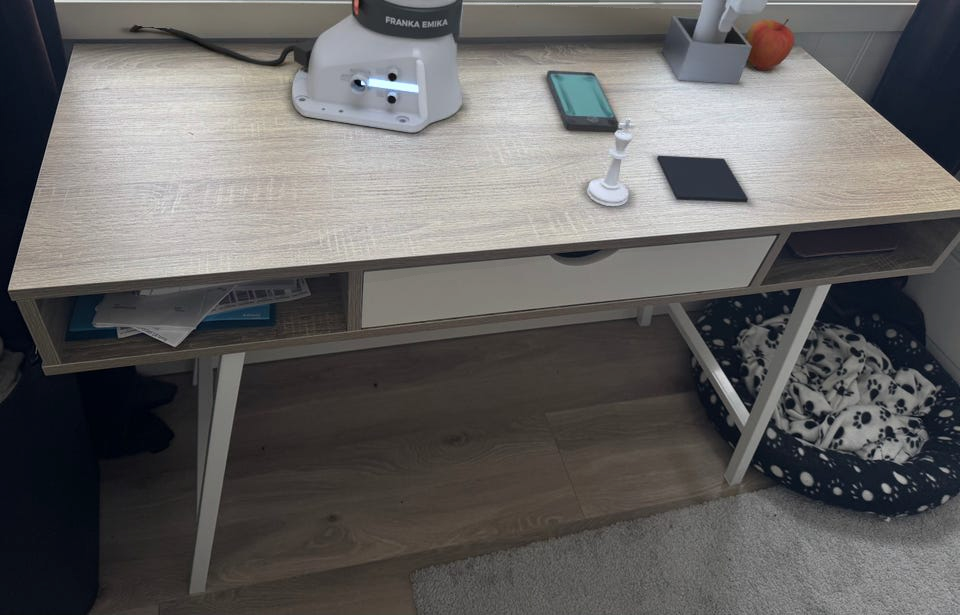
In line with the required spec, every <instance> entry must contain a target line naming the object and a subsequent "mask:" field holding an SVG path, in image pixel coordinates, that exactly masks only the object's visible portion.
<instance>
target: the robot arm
mask: <svg viewBox="0 0 960 615" xmlns="http://www.w3.org/2000/svg"><path fill="white" fill-rule="evenodd" d="M463 1H464V0H351V12H352V13H351V14H349V15H348V16H347V17H345V18H343V19H342V20H340V21H339V22H337V23H336V24H334V25H332V26H331V27H329V28H328V29H327V30H324V31H323V32H321V34H320V35H319V36H316V37H313V38H310V39H307V40H304V41H301V42H298V43H294V44H291V45H288V46H287V47H285V48H284V49H283V50H282V51H281V53H280V56H279V57H278V58H277V59H274V60H266V61H265V60H259V59H254V58H251V57H248V56H246V55H243V54H242V53H239V52H236V51H234V50H231V49H230V48H229V49H228V48H226V47H223V46H220V45H216V44H214V43H212V42H210V41H207V40H206V39H203V38H202V37H199V36H197V35H195V34H192V33H190V32H186V31H183V30H179V29H177V28H171V27H169V28H170V29H167V28H154V27H142V26H137V25H136V24H134V25H132V27H130V29H129V31H128V32H129V33H136V32H138V31H139V30H141V29H155V30H158V31H162V32H164V33H165V32H166V33H168V34H171V35H175V36H179V37H183V38H186V39H189V40H192V41H194V42H196V43H198V44H200V45H202V46H204V47H206V48H208V49H210V50H213V51H216V52H219V53H222V54H225V55H228V56H231V57H233V58H236V59H237V60H240V61H242V62H245V63H249V64H254V65H259V66H265V67H276V66H279V65H282V64H283V63H284V62H285V60H286V57H287V56H288V54H289V53H291V52H293V62H295V63H297V64H298V65H300V66H301V67H300V68H299V69H298V71H296V74H295V75H294V78H293V81H292V88H291V100H292V104H293V107H294V108H295V110H296V111H297V112H298V113H299V114H300V115H301V116H303V117H306V118H313V119H319V120H325V121H332V122H337V123H346V124H351V125H357V126H363V127H364V126H365V127H370V128H376V129H377V128H379V129H385V130H389V131H390V130H391V131H397V132H404V133H410V134H411V133H418V132H420V131H422V130H424V129H425V128H426V127H427V126H428V125H430V124H432V123H436V122H438V121H441V120H444V119H447V118H450V117H451V116H453V115H455V114H456V113H457V112H458V111H459V110H460V109H461V107H462V105H463V100H464V98H463V95H462V88H461V84H460V77H459V65H458V64H459V63H458V62H459V61H458V43H459V41H460V35H461V33H462V25H463V14H464V2H463ZM726 1H727V2H726V5H725V8H726V10H725V12H724V13H723V15H722V16H719V18H718V22H717V24H716V26H717V28H718V29H719V31H720V32H729V31H730V30H731V28H732V25H733V24H734V22H735V21H736V19H737V18H739V16H740V15H749V16H758V15H759V14H761V13H762V11H763V10H764V9H765V8H766V6H767V4H768V2H769V0H726ZM703 3H704V0H702V2H701V5H700V6H701V8H702V6H703Z"/></svg>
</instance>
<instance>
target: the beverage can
mask: <svg viewBox="0 0 960 615" xmlns="http://www.w3.org/2000/svg"><path fill="white" fill-rule="evenodd" d="M726 2H727V1H726V0H704V3H703V6H702V7H701V9H700V12H699V16H698V18H699V19H698V22H697V25H696V28H695V31H694V34H693V37H692V40H693V41H699V42H713V43H724V41H725V38H726V36H727V33H728V32H720V31H719V29H718V28H717V26H716V24H717V22H718V18H719V16H722V15H723V13H724V12H725V10H726V8H725V5H726Z"/></svg>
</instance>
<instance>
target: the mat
mask: <svg viewBox="0 0 960 615" xmlns="http://www.w3.org/2000/svg"><path fill="white" fill-rule="evenodd" d="M656 159H657V162H658V164H659V166H660V167H661V170H662V172H663V174H664V177H665V179H666V180H667V183H668V185H669V186H670V188H671V190H672V193H673V195H674V197H675V199H676V200H679V201H680V200H681V201H682V200H683V201H706V202H707V201H708V202H731V203H748V200H749V198H748V196H747V195H746V193H745V191H744V190H743V188H742V186H741V185H740V183H739V181H738V180H737V178H736V176H735V175H734V172H733V171H732V170H731V168H730V166H729V164H728V163H727V161H726V159H725V158H722V157H721V158H719V157H718V158H717V157H697V156H679V155H678V156H676V155H657V157H656Z"/></svg>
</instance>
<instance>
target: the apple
mask: <svg viewBox="0 0 960 615" xmlns="http://www.w3.org/2000/svg"><path fill="white" fill-rule="evenodd" d="M789 21H790V18H787V19H786V20H785V22H784V23H781V22H779V21H775V20H771V19H761V20H758V21H755V22H754V23H752V25H751V26H750V27H749V28H748V30H747V32H746V35H745V36H744V38H745V39H746V40H747V41H748V43H749V44H750V45H751V46H752V48H751V51H750V53H749V56H748V59H747V61H749V62H750V64H751V65H752V66H754V67H755V68H756V69H757V70H759V71H766V70H769V69H772V68H775V67H777V66H778V65H780V64H781V63H782V62H784V61H785V59H786V58H787V57H788V56H789V54H790V53H791V52H792V49H793V47H794V44H795V34H794V32H793V31H792V30H791V29H790V28H789V27H788V26H786V24H787V23H788V22H789Z"/></svg>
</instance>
